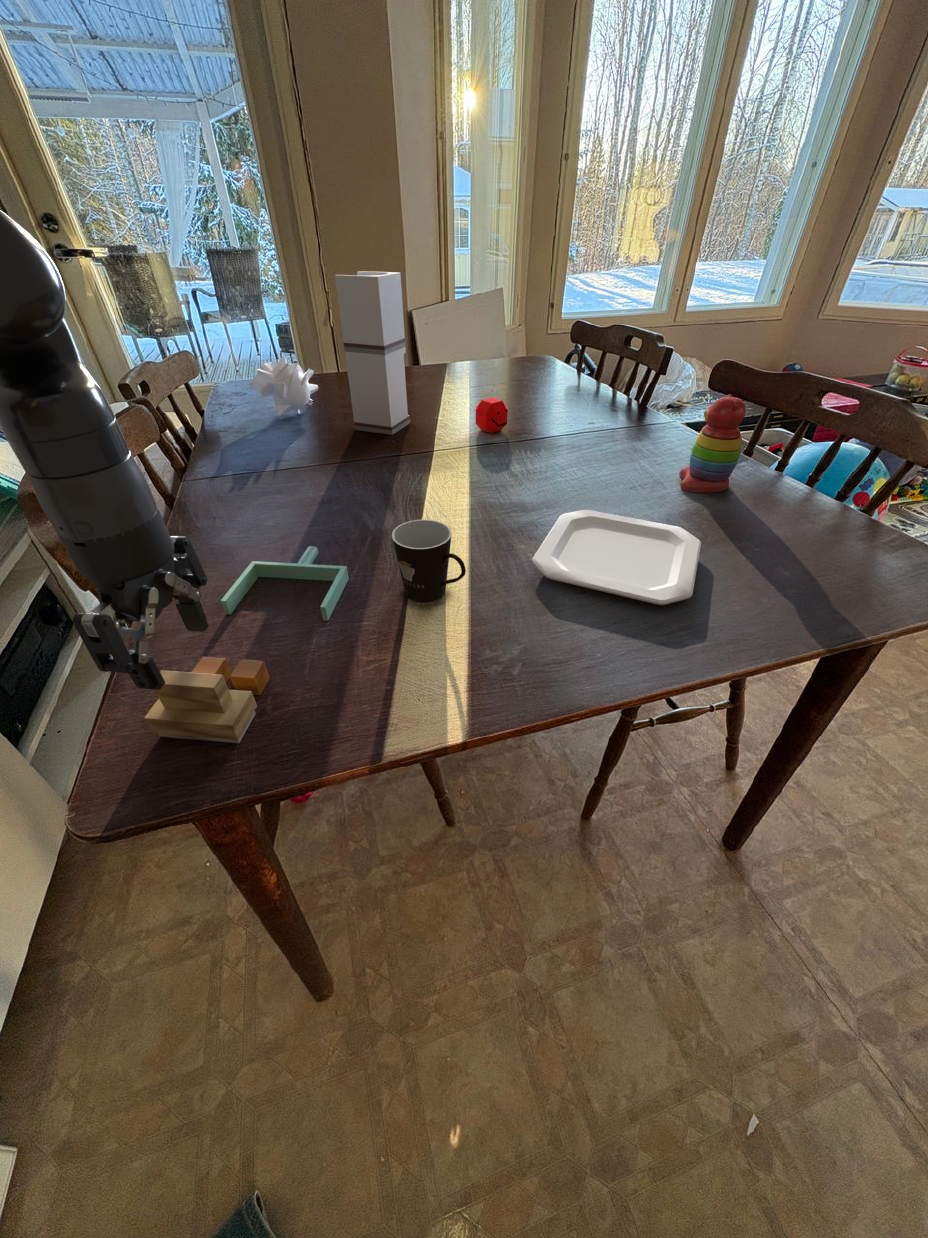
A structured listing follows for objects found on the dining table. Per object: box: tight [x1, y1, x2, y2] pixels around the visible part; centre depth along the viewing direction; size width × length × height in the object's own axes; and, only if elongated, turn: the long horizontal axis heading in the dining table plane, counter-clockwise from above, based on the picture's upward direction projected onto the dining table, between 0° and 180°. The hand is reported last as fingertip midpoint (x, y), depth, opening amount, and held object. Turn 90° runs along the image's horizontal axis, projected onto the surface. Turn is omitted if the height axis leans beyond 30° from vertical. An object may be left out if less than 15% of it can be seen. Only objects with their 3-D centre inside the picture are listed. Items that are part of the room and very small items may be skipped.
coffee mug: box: [391, 519, 467, 603], centre depth 76 cm, size 12×9×10 cm
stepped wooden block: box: [143, 670, 258, 744], centre depth 57 cm, size 10×5×8 cm, turn 84°
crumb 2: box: [230, 659, 270, 696], centre depth 63 cm, size 3×3×3 cm
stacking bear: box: [678, 393, 747, 494], centre depth 105 cm, size 11×10×18 cm
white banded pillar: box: [334, 270, 411, 436], centre depth 130 cm, size 11×11×35 cm
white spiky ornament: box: [249, 355, 319, 417], centre depth 147 cm, size 20×17×15 cm
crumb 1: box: [190, 656, 232, 685], centre depth 63 cm, size 3×3×3 cm
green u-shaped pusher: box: [220, 545, 350, 621], centre depth 80 cm, size 17×16×2 cm
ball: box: [475, 397, 509, 434], centre depth 136 cm, size 8×8×8 cm
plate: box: [531, 509, 702, 606], centre depth 86 cm, size 25×25×2 cm
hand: (177, 656), depth 52 cm, fingers open, 8 cm apart
